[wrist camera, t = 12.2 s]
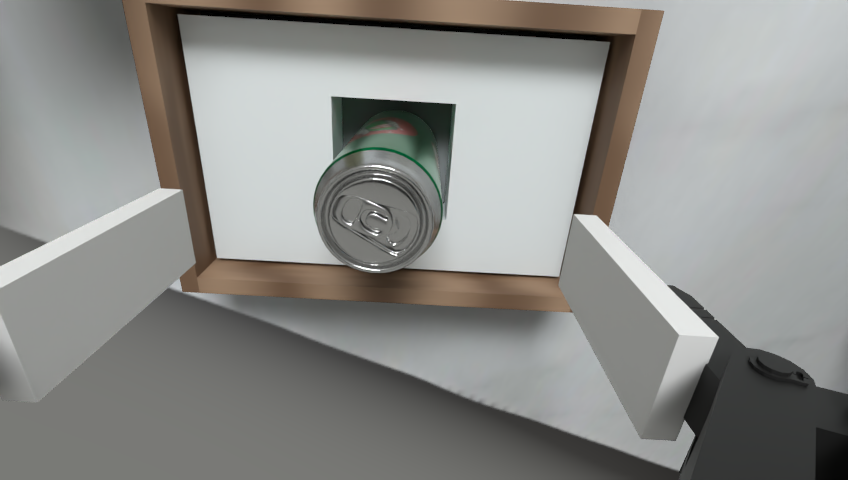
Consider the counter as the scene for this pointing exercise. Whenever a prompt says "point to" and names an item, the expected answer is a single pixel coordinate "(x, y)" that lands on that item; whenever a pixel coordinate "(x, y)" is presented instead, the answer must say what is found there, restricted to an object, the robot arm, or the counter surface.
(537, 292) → the open box
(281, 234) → the socket plate
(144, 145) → the counter surface
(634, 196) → the counter surface
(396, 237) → the soda can
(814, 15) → the counter surface
